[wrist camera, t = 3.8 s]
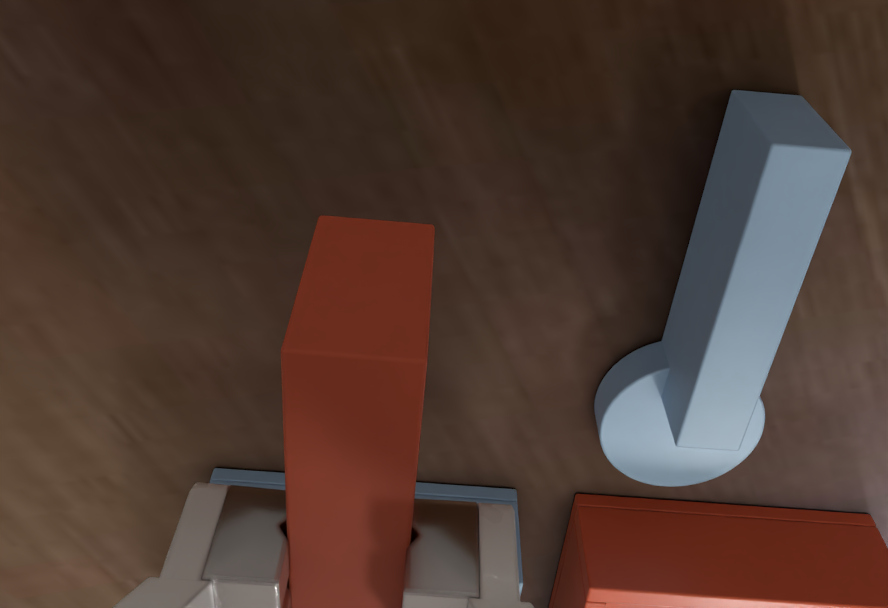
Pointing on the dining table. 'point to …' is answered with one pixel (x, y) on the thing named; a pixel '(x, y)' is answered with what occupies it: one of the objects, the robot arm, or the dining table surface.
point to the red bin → (717, 556)
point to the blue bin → (421, 492)
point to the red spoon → (355, 409)
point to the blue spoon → (726, 298)
